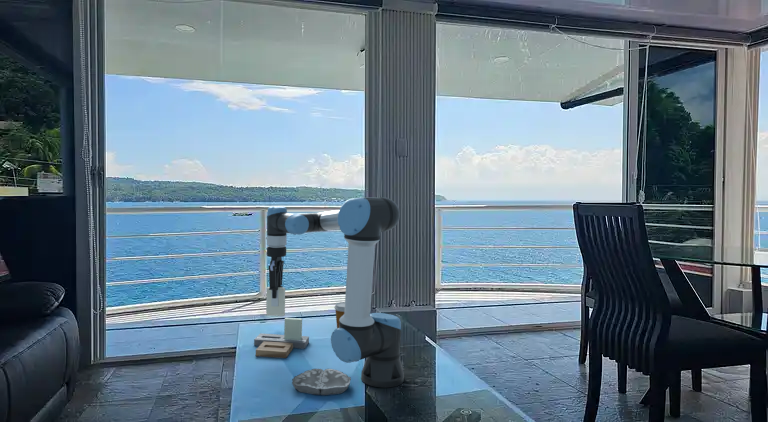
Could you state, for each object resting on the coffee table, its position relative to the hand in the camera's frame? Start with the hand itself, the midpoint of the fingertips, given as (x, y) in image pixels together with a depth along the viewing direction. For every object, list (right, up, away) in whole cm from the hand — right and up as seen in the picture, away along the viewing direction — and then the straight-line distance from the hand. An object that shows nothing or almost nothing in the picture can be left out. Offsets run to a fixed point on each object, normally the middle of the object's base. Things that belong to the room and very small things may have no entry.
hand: (275, 305), depth 206 cm
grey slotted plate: (0, -18, +11) cm, 21 cm away
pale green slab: (0, -4, 0) cm, 4 cm away
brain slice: (+21, -23, -28) cm, 42 cm away
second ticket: (+5, -18, +11) cm, 22 cm away
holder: (-1, -19, +1) cm, 19 cm away
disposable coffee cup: (+24, -17, +33) cm, 44 cm away
